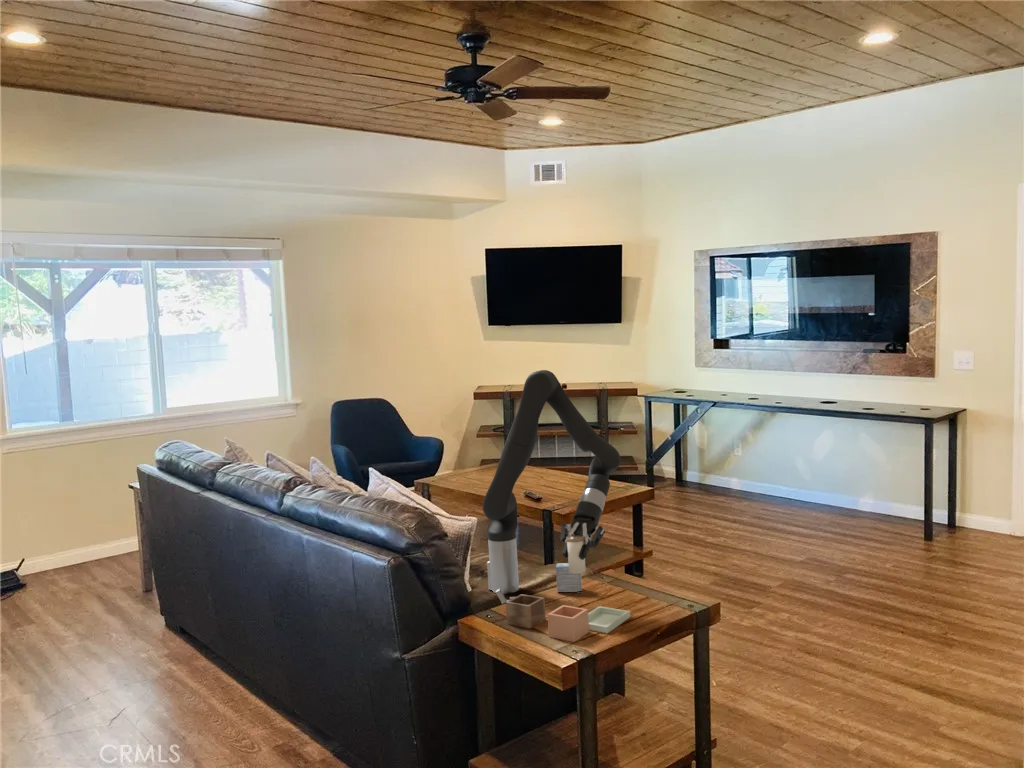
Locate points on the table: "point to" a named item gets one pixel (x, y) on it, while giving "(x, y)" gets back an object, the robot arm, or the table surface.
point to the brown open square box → (525, 611)
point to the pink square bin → (568, 623)
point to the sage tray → (606, 619)
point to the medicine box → (567, 579)
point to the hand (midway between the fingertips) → (573, 557)
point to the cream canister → (575, 554)
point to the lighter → (502, 596)
